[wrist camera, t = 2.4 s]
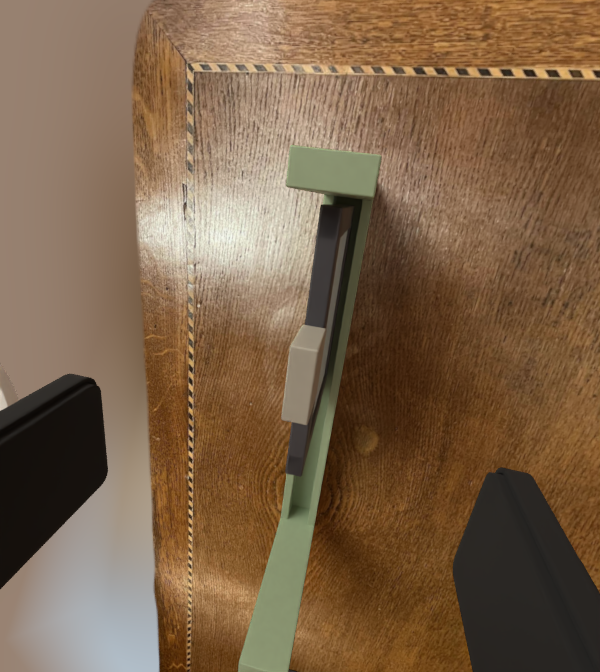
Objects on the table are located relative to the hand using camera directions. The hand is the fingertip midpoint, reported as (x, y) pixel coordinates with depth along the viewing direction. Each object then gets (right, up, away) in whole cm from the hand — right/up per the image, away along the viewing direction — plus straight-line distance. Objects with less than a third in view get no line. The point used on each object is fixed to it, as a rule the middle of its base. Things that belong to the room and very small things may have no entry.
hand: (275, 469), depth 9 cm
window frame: (+2, +1, +19) cm, 19 cm away
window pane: (+3, +6, +16) cm, 17 cm away
